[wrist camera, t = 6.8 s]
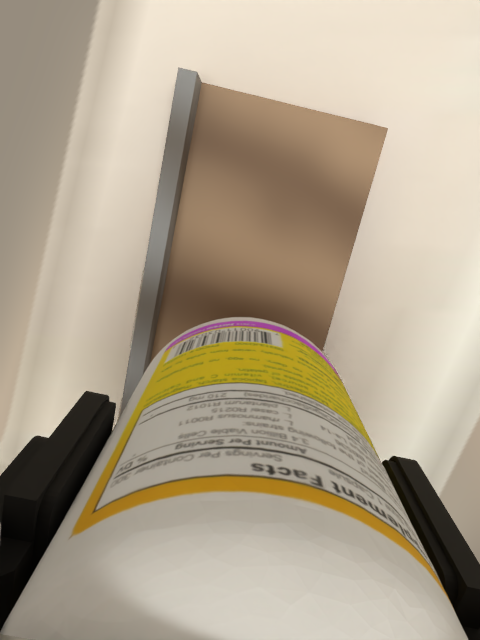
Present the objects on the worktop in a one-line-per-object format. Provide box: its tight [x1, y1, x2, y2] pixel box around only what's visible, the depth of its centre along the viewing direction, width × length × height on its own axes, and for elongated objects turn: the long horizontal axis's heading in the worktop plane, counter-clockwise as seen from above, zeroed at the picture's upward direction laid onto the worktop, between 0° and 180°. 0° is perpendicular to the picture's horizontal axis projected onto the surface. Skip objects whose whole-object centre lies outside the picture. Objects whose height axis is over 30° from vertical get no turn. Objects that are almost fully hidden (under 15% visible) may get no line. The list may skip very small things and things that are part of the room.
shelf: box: [118, 67, 388, 420], centre depth 24 cm, size 22×10×4 cm, turn 167°
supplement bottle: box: [0, 317, 468, 640], centre depth 9 cm, size 7×7×13 cm
